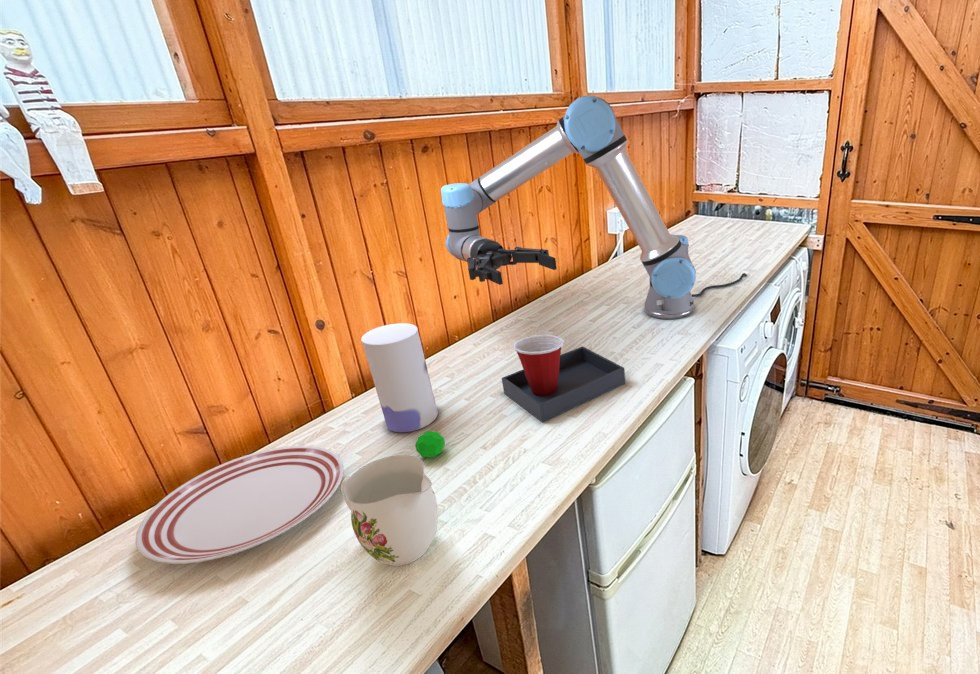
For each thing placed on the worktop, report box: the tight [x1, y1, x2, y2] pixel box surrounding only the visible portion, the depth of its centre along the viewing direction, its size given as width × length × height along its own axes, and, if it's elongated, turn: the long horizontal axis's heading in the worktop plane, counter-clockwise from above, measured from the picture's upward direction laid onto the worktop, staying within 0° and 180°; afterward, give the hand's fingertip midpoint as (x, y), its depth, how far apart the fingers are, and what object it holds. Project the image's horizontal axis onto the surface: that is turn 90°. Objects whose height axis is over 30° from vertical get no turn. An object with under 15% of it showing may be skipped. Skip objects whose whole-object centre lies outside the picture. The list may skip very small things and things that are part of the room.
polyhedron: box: [414, 430, 446, 459], centre depth 97 cm, size 5×5×5 cm
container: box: [360, 322, 439, 433], centre depth 105 cm, size 10×10×20 cm
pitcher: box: [340, 454, 439, 567], centre depth 75 cm, size 11×18×14 cm, turn 68°
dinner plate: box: [135, 445, 345, 565], centre depth 85 cm, size 28×27×3 cm
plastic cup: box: [512, 334, 565, 396], centre depth 114 cm, size 11×11×12 cm
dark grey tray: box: [501, 346, 626, 423], centre depth 117 cm, size 22×16×4 cm
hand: (528, 271), depth 114 cm, fingers open, 13 cm apart
